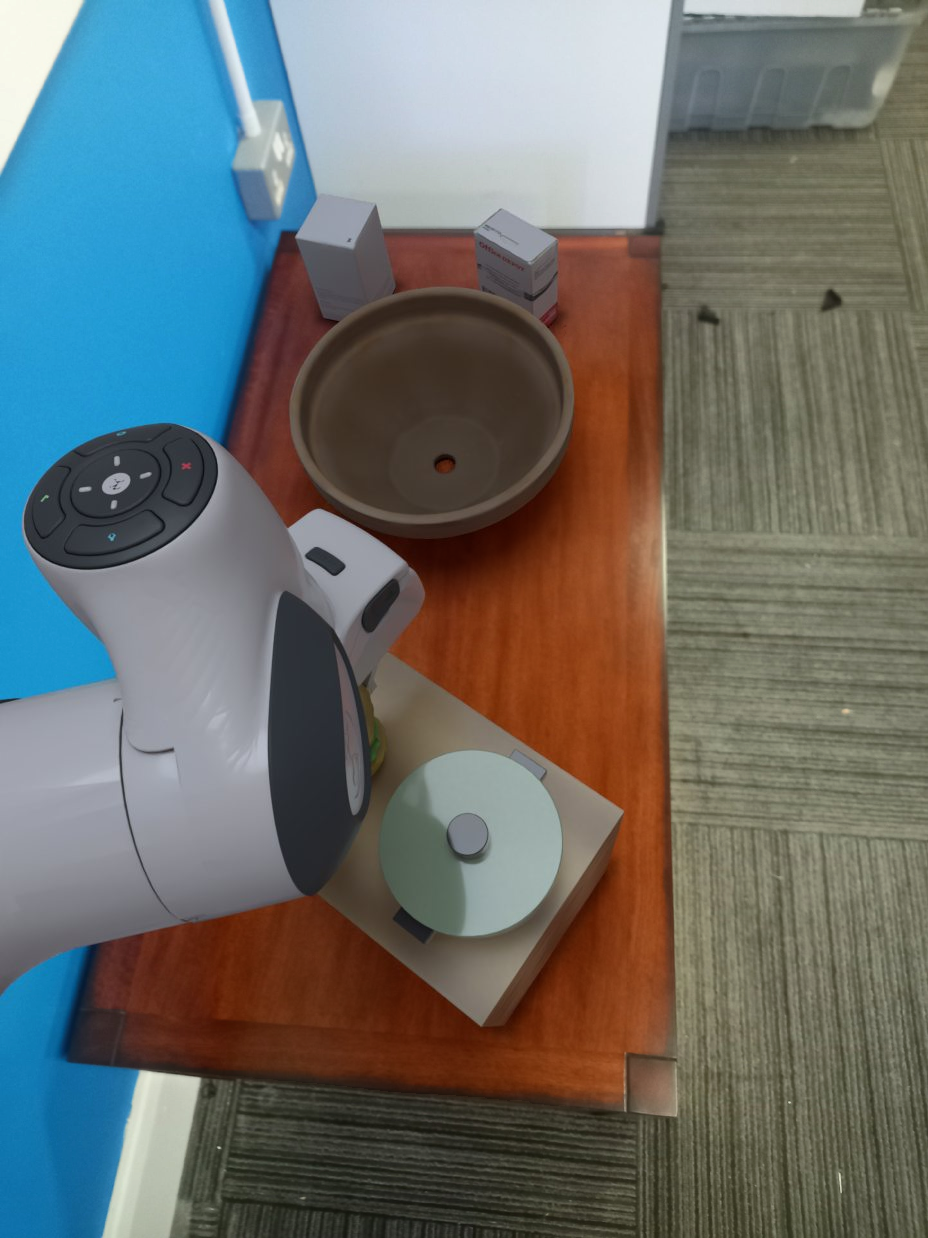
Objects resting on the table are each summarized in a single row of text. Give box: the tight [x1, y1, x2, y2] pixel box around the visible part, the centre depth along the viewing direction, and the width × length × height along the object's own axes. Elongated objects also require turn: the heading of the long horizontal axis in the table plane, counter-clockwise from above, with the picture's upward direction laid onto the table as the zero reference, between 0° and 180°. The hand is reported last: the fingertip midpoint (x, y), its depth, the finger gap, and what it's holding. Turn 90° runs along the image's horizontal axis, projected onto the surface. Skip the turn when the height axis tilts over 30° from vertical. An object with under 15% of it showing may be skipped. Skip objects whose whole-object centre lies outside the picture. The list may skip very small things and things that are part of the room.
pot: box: [379, 749, 563, 946], centre depth 54 cm, size 12×11×8 cm
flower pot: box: [288, 286, 575, 540], centre depth 93 cm, size 28×28×13 cm
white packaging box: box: [294, 193, 397, 322], centre depth 105 cm, size 7×7×13 cm
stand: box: [316, 650, 626, 1028], centre depth 70 cm, size 16×23×24 cm
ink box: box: [473, 207, 559, 328], centre depth 102 cm, size 8×5×12 cm, turn 48°
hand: (323, 736), depth 57 cm, fingers closed on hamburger, 6 cm apart
